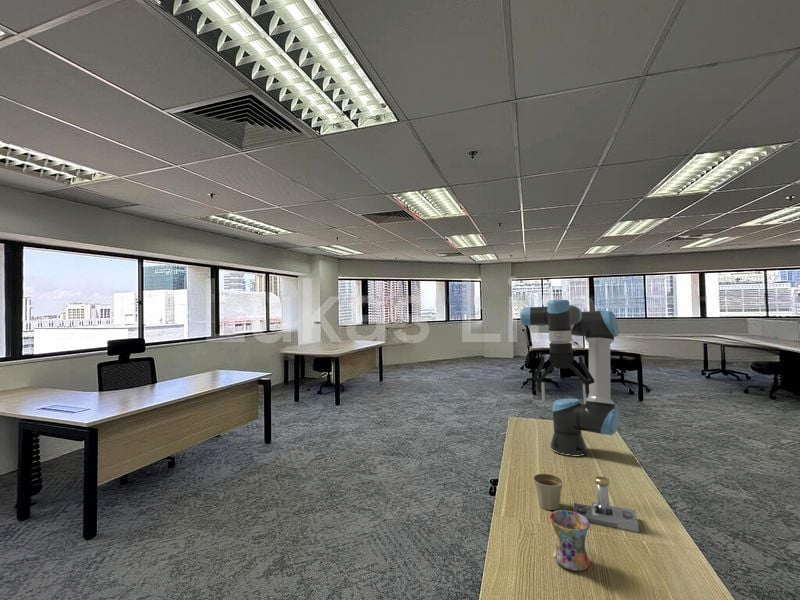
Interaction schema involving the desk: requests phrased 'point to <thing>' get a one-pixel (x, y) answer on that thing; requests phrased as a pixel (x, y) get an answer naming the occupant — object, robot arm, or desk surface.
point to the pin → (603, 495)
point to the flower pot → (548, 490)
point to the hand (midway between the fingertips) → (563, 401)
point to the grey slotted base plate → (616, 519)
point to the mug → (570, 539)
